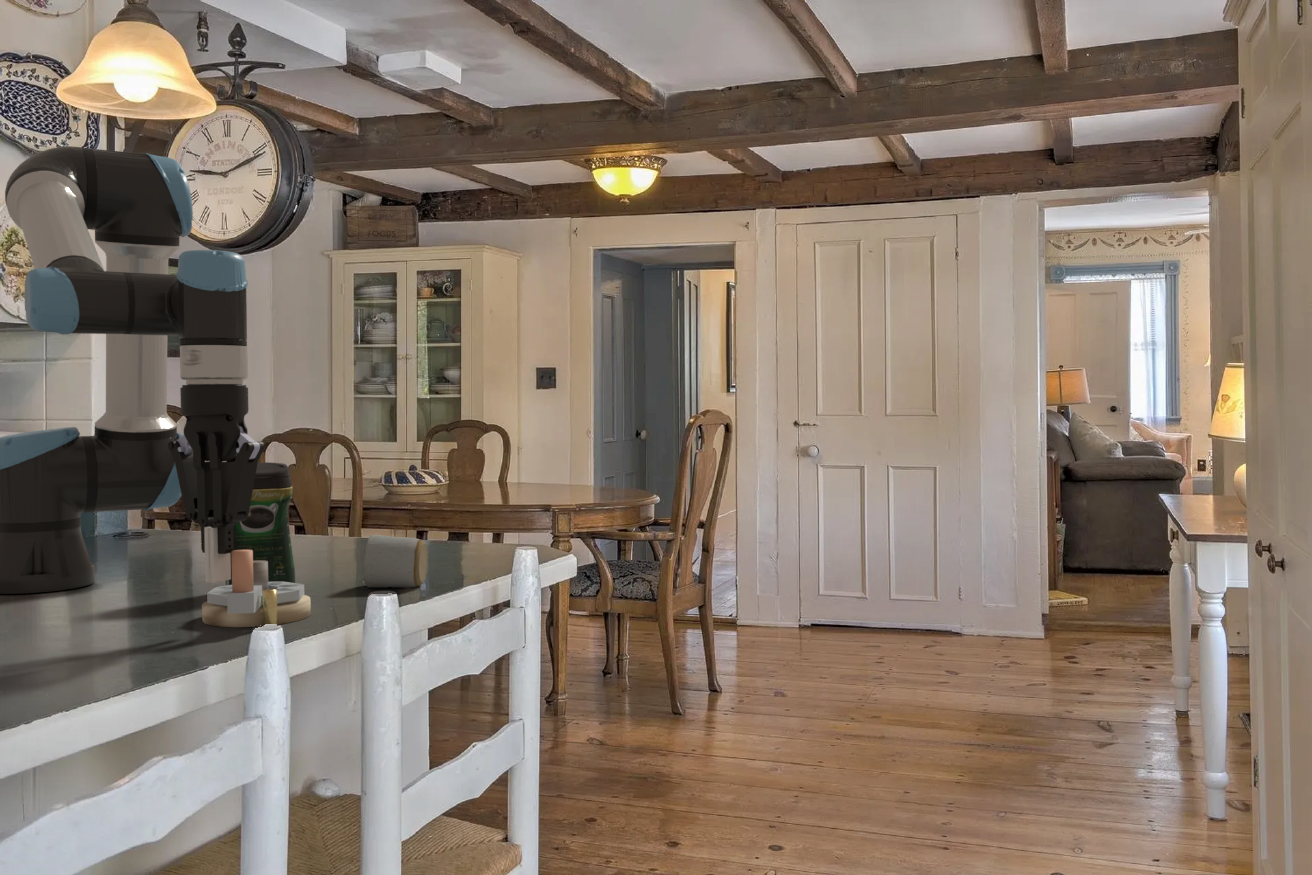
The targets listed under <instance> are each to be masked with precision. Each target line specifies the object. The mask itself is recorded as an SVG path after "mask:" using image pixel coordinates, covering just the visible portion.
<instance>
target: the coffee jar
mask: <svg viewBox="0 0 1312 875" xmlns="http://www.w3.org/2000/svg"><path fill="white" fill-rule="evenodd" d="M293 489H294V488H293V483H292V477H291V474H290V468H289V465H287V464H286V463H283V462H282V463H281V462H280V463H279V462H263V461H262V462H259V461H258V464H257V469H256V475H255V480H254V486H253V492H252V497H251V503H250V509H249V514H248V518H247V519H246V520H243V521H240V522H238V523H236V524H235V525H234V550H253V561H259V560H262V561H268V582H278V581H283V582H290V583H296V570H295V569H296V568H295V562H294V561H295V560H294V554H293V547H292V539H291V531H290V529H291V528H290V519H289V518H290V517H289V516H290V515H289V508H290V507H289V505H290V501H291V499H292V496H293V492H294V491H293ZM234 550H233V551H234ZM230 557H231V553H230ZM224 583H225V584H224V586H227V585H232V557H231V579H230V580H225V581H224Z"/></svg>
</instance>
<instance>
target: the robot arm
mask: <svg viewBox="0 0 1312 875" xmlns="http://www.w3.org/2000/svg"><path fill="white" fill-rule="evenodd" d="M6 182H7V183H6V187H5V190H4V200H5V205H6V209H7V212H8V214H9V216H10V219H11V220H12V221H13V223H14V224H15V225H16V226H17V227H18V228H19V229H20V230H22V232H23V233H22V234H23V236H24V239H25V242H26V246H27V249H28V252H29V256H30V258H31V262H32V265H33V268H32V269H30V270H29V271H28V272H27V274H26V275H25V280H24V294H23V295H24V312H25V318H26V319H25V320H26V323H27V325H28V327H29V328H31V329H32V330H33V331H36V332H41V333H42V332H43V333H44V332H45V333H56V334H60V335H70V334H78V335H79V334H84V335H85V334H86V335H87V334H88V335H89V334H91V335H92V334H94V335H95V334H97V335H99V334H100V335H105V412H104V414H103V415H102V416H101V417H99V418H97V419H96V421H95V422H94V434H93V435H82V436H81V432H80V431H79V429H78V428H77V427H75V426H72V427H68V426H67V427H58V428H49V429H41V430H33V431H26V432H21V433H15V434H9V435H5V436H0V594H2V595H3V594H5V595H7V594H8V595H13V594H16V595H17V594H35V593H46V592H48V593H49V592H57V591H66V590H70V589H76V588H77V589H78V588H82V587H86V586H90V585H93V584H94V583H95V582H96V573H95V572H96V568H95V566H94V563H92V562H91V561H90V556H89V552H88V548H87V546H86V543H85V540H84V537H83V534H82V527H81V526H82V525H81V524H82V523H81V520H82V519H81V514H83V513H85V514H86V513H104V512H117V511H119V512H120V511H122V512H123V511H139V510H142V511H150V510H152V509H161V508H162V509H163V508H164V509H165V508H169V507H172V506H174V505H175V504H176V503H177V502H178V501H179V500H180V498H181V497H182V503H183V508H184V513H185V517H186V519H187V520H188V521H194V522H195V523H197V524H198V526H200V543H201V544H200V549H201V551H202V554H203V553H204V570H205V571H204V572H205V573H204V574H205V575H204V576H205V578H204V579H205V580H204V581H205V583H210V584H211V583H212V584H216V583H219V582H225V580H230V579H231V557H230V553H231V551H233V550H234V525H235V524H236V523H238V522H240V521H243V520H246V519H247V518H248V514H249V509H250V503H251V497H252V492H253V486H254V480H255V475H256V469H257V464H258V462H259V460H260V458H261V456H262V454H263V453H264V450H265V443H264V442H263V441H256V440H254V439H253V438H252V437H251V436H249V435H248V433H249V432H248V427H247V424H246V422H245V416H246V415H247V414H248V413H249V387H247V384H243V383H244V380H247V379H248V378H249V365H248V344H247V343H248V341H247V340H248V327H247V326H248V324H247V322H248V321H247V320H248V319H247V316H248V315H247V313H248V312H247V310H248V309H247V308H248V307H247V288H248V285H249V284H248V280H247V273H246V272H247V271H246V264H245V263H246V261H245V259H244V257H243V256H242V255H241V254H240V253H237V252H235V251H234V252H233V251H227V250H217V249H192V250H186V251H183V252H181V253H180V254H179V256H178V262H177V272H176V273H175V274H169V259H170V257H171V256H172V255H173V254H175V252H177V251H178V250H179V249H180V237H181V238H184V237H187V236H189V235H190V234H191V233H192V229H193V218H194V215H193V214H194V212H193V201H192V194H191V189H190V188H191V187H190V185H189V180H188V177H187V174H186V172H185V170H184V169H183V166H182V165H181V164H180V162H178V161H177V160H175V159H174V158H171V157H167V156H161V155H155V154H151V153H148V152H146V153H141V152H140V153H139V152H138V153H137V152H130V151H129V152H128V151H120V150H119V151H118V150H108V149H98V148H97V149H96V148H87V147H82V146H58V147H53V148H48V149H45V150H42V151H39V152H37V153H35V154H32V156H30V157H28V158H26V159H25V160H24V161H22V162H21V163H20V164H19V165H18V166H17V167H16V169H14V170H13V172H12V173H11V174H10V176H9V178H8V180H7V181H6ZM89 230H91V231H94V241H93V239H92V236H91V234H90V231H89ZM95 244H96V245H97V247H99V249H101V251H103V253H105V256H106V257H105V264H106V265H105V268H104V266H103V264H102V260H101V258H100V256H99V254H98V251H97V248H96V246H95ZM168 336H174V337H177V338H179V364H180V365H179V369H180V370H179V372H180V376H179V377H180V379H182V380H185V384H182V385H181V387H180V390H179V391H180V412H181V414H182V415H183V416H185V418H186V421H185V424H184V427H183V434H182V433H180V432H178V424H177V423H176V422H175V421H174V419H173V418H172V417H171V416H169V415H168V412H167V411H168V409H167V408H168V407H167V406H168V404H167V401H168V400H167V399H168V398H167V396H168Z"/></svg>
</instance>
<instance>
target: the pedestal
mask: <svg viewBox="0 0 1312 875" xmlns="http://www.w3.org/2000/svg"><path fill="white" fill-rule="evenodd" d="M254 585H262V592H263V590H265V589H268V561H262V560H259V561H253V586H254ZM311 605H312V604H311V597H310V596H309V595H307V594H304V595H303V596H302V597H301V598H300V600H295V601H289V602H284V603H278V604H277V625H285V624H288V623H289V624H290V623H294V622H297V621H301V620H303V619H304V620H305V619H307V618H308V617H310V616H311V615H312V614H311V612H312V608H311ZM201 615H202V618H201V619H202V620H201V621H202V623H204V624H205V625H208V626H214V627H220V628H221V627H222V628H253V627H254V628H256V627H255V626H257V627H261V626H260V625H264V622H263V605H262V606H261V607H260V608H259V609H258V610H257V611H256V612H255V613H238V614H228V610H227V606H223V605H217V604H211V603H207V600H206V601H204V602H202V604H201Z"/></svg>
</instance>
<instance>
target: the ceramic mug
mask: <svg viewBox="0 0 1312 875" xmlns="http://www.w3.org/2000/svg"><path fill="white" fill-rule="evenodd" d="M363 552H364V553H363V566H362V567H363V570H362V571H363V572H362V573H363V580H364V582H365V585H366V587H368V588H375V589H376V588H377V589H379V588H381V589H382V588H383V589H384V588H388V587H392V588H402V589H405V588H406V589H407V588H408V589H409V588H417V587H420V586H422V585H423V583H424V582H425V580H426V577H427V572H428V565H429V564H428V563H429V557H428V556H429V554H428V547H427V544H426V542H425V541H424V540H422V539H419V538H416V537H407V536H405V537H403V536H391V535H382V534H381V535H380V534H371V535H370V536H369V537H368V538H367V540H366V544H365V548H364V551H363ZM388 589H389V588H388Z"/></svg>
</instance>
